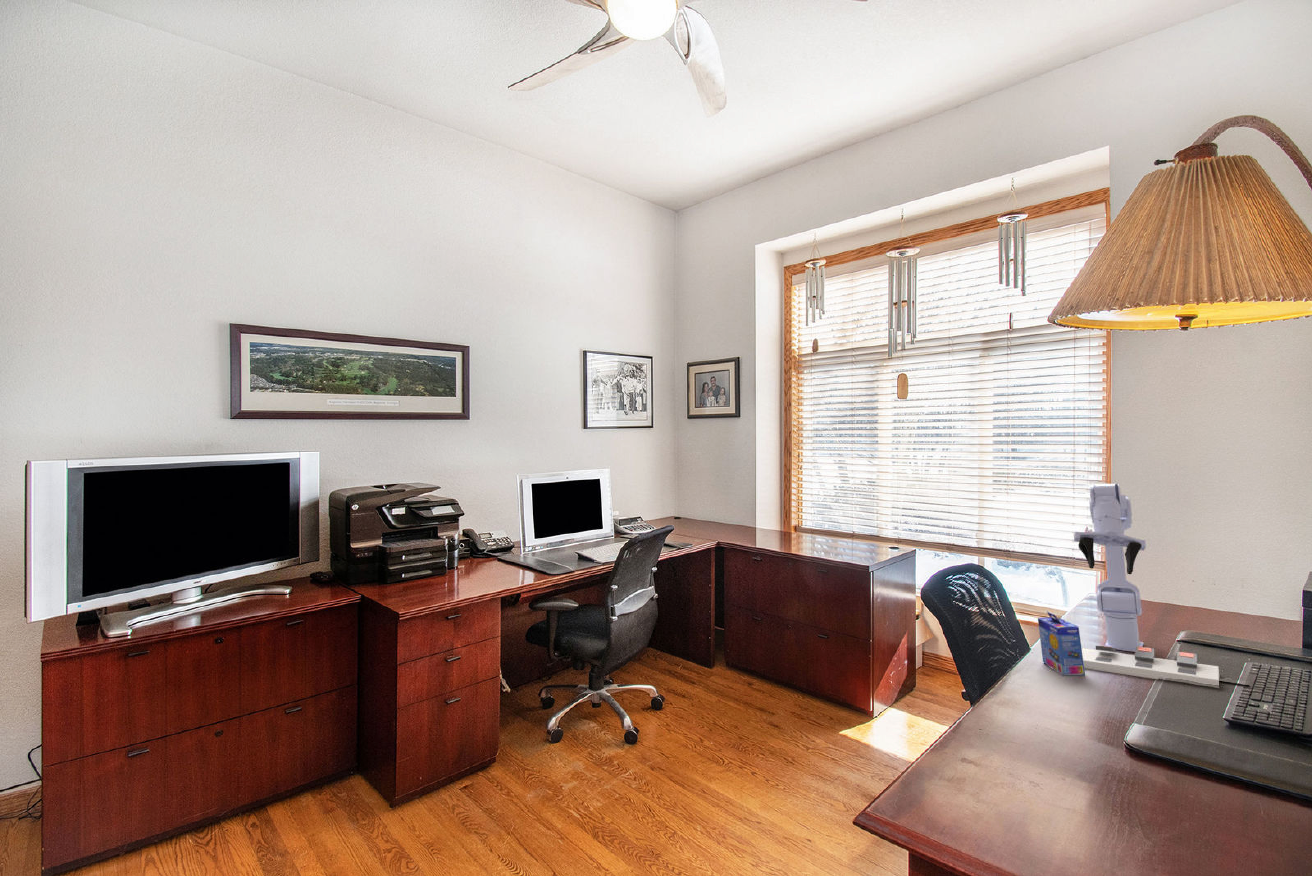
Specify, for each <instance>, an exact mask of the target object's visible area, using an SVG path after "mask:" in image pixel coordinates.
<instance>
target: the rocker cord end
mask: <svg viewBox="0 0 1312 876" xmlns="http://www.w3.org/2000/svg"><path fill="white" fill-rule="evenodd" d="M1176 661H1177V666H1183V667H1190V668H1197V664H1198V655H1197V653H1193V652H1182V651H1176Z"/></svg>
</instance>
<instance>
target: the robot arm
mask: <svg viewBox="0 0 1312 876" xmlns="http://www.w3.org/2000/svg"><path fill="white" fill-rule="evenodd" d="M1131 504H1132V503H1131V498H1129V497H1128V496H1127V495H1125V494H1122V492H1121V487H1120V485H1119V483H1108V482H1105V483H1104V482H1103V483H1099V484H1098V483H1097V484H1095V483H1094V484H1093V486H1091V485H1089V513H1090V516H1091V522H1092V524H1093V530H1094V531H1075V532H1074V534H1073V542H1075V543H1078V549H1079V550H1080V551H1081V552H1082V554H1083V556H1084V557H1085V560H1086V561H1087V564H1088V567H1089V569H1092V570H1093V569H1094V567H1095V555H1094V554H1095V553H1094V544H1097V545H1099V546H1104V547H1105V559H1106V561H1105V562H1106V571H1107V572H1106V574H1107V579H1105V580H1103V581H1101V582H1099V583H1098V584H1097V586H1096V604H1097V609H1098V611H1099V612H1100V613H1103V616H1104V622H1105V623H1104V624H1105V632H1106V641H1105V644H1104V646H1107V647H1113V648H1116V651H1117V650H1120V651H1125V652H1126V651H1127V652H1132V653H1133V652H1134V653H1135V651H1136V646H1138V647H1144V642H1143V641H1140V636H1139V635H1140V634H1139V626H1138V616H1141V615H1142V614H1143V612H1142V611H1143V610H1142V601H1141V594H1140V590H1139V588H1138V587H1137V586H1136V585H1135V584H1133V583H1132V582H1130V581H1128V580H1127V576H1126V573H1127V575H1132V573H1133V572H1134V567H1135V566H1134V565H1135V561H1136V558H1137V557H1138V554H1139V552H1140V551H1145V549H1146V548H1147V545H1146V539H1145V540H1144V539H1140V538H1135V537H1132V536H1128V535H1125V531H1126V530H1128V529H1130V528H1132V524H1133V520H1132V516H1133V515H1132V505H1131ZM1124 548H1126V550H1125V552H1124ZM1125 560H1126V561H1125ZM1125 562H1126V564H1125ZM1125 565H1126V566H1125Z"/></svg>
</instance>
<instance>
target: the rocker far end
mask: <svg viewBox="0 0 1312 876" xmlns="http://www.w3.org/2000/svg"><path fill="white" fill-rule="evenodd" d="M1095 650H1100V651H1108V652H1115V653H1117V649H1116V648H1113V647H1107V646H1105V645H1095Z"/></svg>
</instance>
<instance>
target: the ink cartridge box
mask: <svg viewBox="0 0 1312 876" xmlns="http://www.w3.org/2000/svg"><path fill="white" fill-rule="evenodd" d="M1046 613H1047V615H1048V616H1049V617H1037V623H1038V630H1039V638H1040V639H1039V640H1040V647H1041V656H1042V663H1043V662H1044V663H1046V664H1047V665H1048V666H1047V665H1046V664H1045V665H1046V666H1047V667H1049V666H1050V667H1049V668H1051V667H1052V668H1053V669H1052V668H1051V669H1052V670H1054V671H1055V670H1056V673H1059V674H1060V675H1062V676H1064V675H1065V676H1066V677H1067V676H1086V671H1085V670H1086V668H1084V662H1083V655H1082V649H1083V647H1082V640H1081V636H1080V635H1081V634H1080V627H1079V625H1076V624H1073V623H1071V622H1068V621H1065V619H1062V618H1061V617H1057V616H1056V615H1055V614H1054V613H1051V612H1048V611H1046ZM1044 663H1043V664H1044Z"/></svg>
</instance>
